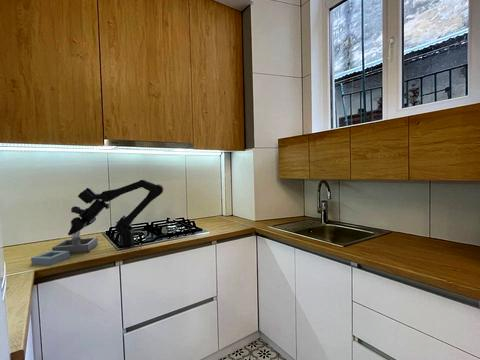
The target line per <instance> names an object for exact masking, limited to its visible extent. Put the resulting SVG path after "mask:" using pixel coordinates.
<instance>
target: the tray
mask: <svg viewBox="0 0 480 360" xmlns="http://www.w3.org/2000/svg"><path fill="white" fill-rule="evenodd" d="M98 239H99V238H98V236H97V237H85V238H83V237H82V238H81V245H72V239H64V240H62V241H61V242H59V243H58V244H56V245H54V246H52V248H51V251H69V255H76V254H87V253H90V252H91V251H93V250H94V248H96V247H97V246H98V245H99V240H98Z"/></svg>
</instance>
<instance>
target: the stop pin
mask: <svg viewBox="0 0 480 360" xmlns="http://www.w3.org/2000/svg"><path fill="white" fill-rule="evenodd" d="M69 224H70V228H71V227H72V224H71V222H70V223H69ZM70 236H71V239H72V245H81V239H82V237H81V230H80V231H78V232H76V233H74V234H72V235H70Z"/></svg>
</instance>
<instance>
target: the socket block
mask: <svg viewBox="0 0 480 360" xmlns="http://www.w3.org/2000/svg"><path fill="white" fill-rule="evenodd" d="M70 256H71V255H70V254H69V251H52V250H50V251H46V252H43V253H41V254H38V255H35V256H32V257H31V258H30V262H31V265H32V266H33V265H34V266H53V265H55V264H58V263H60V262H62V261H64V260H67V259H69V258H71V257H70Z"/></svg>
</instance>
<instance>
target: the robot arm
mask: <svg viewBox="0 0 480 360" xmlns="http://www.w3.org/2000/svg"><path fill="white" fill-rule="evenodd" d="M138 189H145V190H147V192H148V194H147V195H146V196H145V197H144V198H143V199H142V200H141V202H140V203H139V204H138V205H136V207H135V208H134V209H132V211H131V212H130V213H129V214H127V216H126V215H122V217H120V219H119V220H118V221H116V222H115V228H114V229H115V231H116V232H117V233H118V234H119V246H120V245H122V246H124V247H123V248H131V247H133V246H135V245H134V243H135V233H133V232H134V229H135V228H134V227H133V226H132V223H133V222H134V220H135V219H136V218H137V217H138V216H139V215H140V214H141V213H142V212H143V211H144V210H145V208H147V206H148V205H149V204H150V203H151V202H153V201H154V200H155V199H157V198H158V197H159V196H160V195H162V194H163V192H164V186H163V185H162V184H157V183H156V184H155V183H153V182H151V181H148V180H146V179H139V180H138V181H136V182H133V183H129V184H126V185H124V186H122V187H119V188H114V189H108V190H107V189H106V190H103V191H102V192H101V193H96V192H95V191H94V190H92V188H90V187H86V188H85V189H84V190H83V191H81V192H80V193H79V194H78V195H77V198H79V199H80V200H82V202H84V203H85V204H86V205H90V206H88V207H87V208H86V207H84V206H81V205H78V204H75V205H73V206H72V207H71V208H70V209H71V210H70V212H71V213H73V214H77V215H78V216H76V217H74V218H72V219H71V220H70V223H71V224H72V227H71V226H70V229H69V231H68V232H67V235H68V236H71V235H72V234H74V233H76V232H78V231H80V232H81V230H83V229H85V228H86V227H88V226H91V225H92V224H93V223H95V221H96V220H97V217H98V216H99V214H100V213H101V212H102V211H103V210H104V209H106V210H108V209H110V203H109V202H111V201H113V200H115V199H116V198H118V197H120V196H121V195H124V194H127V193H129V192H132V191H135V190H138ZM71 224H70V225H71Z"/></svg>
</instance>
